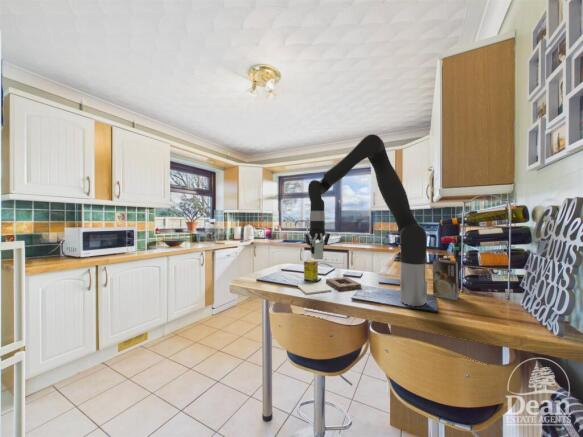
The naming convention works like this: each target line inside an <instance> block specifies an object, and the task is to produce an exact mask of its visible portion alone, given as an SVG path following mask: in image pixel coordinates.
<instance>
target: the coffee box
mask: <svg viewBox="0 0 583 437" xmlns="http://www.w3.org/2000/svg"><path fill="white" fill-rule="evenodd" d="M432 297H438V298H441V299H442V298H443V299H447V300H451V301H452V300H453V301H457V300H458V299H459V261H454V260H445V259H434V260H433V261H432Z"/></svg>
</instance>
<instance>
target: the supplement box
mask: <svg viewBox="0 0 583 437" xmlns="http://www.w3.org/2000/svg"><path fill="white" fill-rule="evenodd" d="M318 262H319V261H318V260H315V259H314V260H313V259H308V260H305V261H303V280H304V281H306V280H308V281H307V282H311V281H313V282H315V281H318V280H319V277H318V276H319V275H318V274H319V273H318V271H319V266H318V265H319V264H318ZM317 279H318V280H317ZM314 280H315V281H314Z"/></svg>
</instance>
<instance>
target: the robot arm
mask: <svg viewBox="0 0 583 437" xmlns="http://www.w3.org/2000/svg"><path fill="white" fill-rule="evenodd" d="M365 159H368V161H369V163H370V164H371V166H372V168H373V171H374V174H375V178H376V183H377V186H378V189H379V192H380V194H381V196H382V198H383V201H384V202H385V205H386V206H387V208H388V209H389V211H390V213H391V214H392V216H393V219H394V221H395V223H396V225H397V229H398V233H399V237H400V263H399V264H400V266H399V267H400V270H399V271H400V284H399V286H400V303H402V302H403V303H404V304H403V303H402V304H403V305H405V304H408V305H407V306H409V305H415V306H421V305H424V304H425V303H427V304H428V282H427V280H426V257H427V233H426V231H425V229H424V228H423V226H422V227H421V226H420V225H419V223H418V222H417V220H416V217H415V216H414V214H413V212H412V209H411V206H410V203H409V198H408V195H407V192H406V189H405V187H404V185H403V183H402V180H401V179H400V177H399V175H398V173H397V172H396V169H395V168H394V167H393V165H392V163H391V161H390V159H389V157H388V153H387V150H386V146H385V143H384V141H383V139H382V138H381V137H379V136H378V135H377V134H368V135H366V136H364V137H363V138H362V139H361V140H360V142H358V143H357V145H356V146H355V147H354V148H352V149H351V151H350V152H348V153H347V154H346V156H344V157H343V158H342V159H341V160H340V161H338V162H337V163H336V164H334V165H333V166H332V167H331V168H329V169H328V170H327V171H326V172H325V173H324V174H323V177H322V178H321V179H320V180H318V179H313V180H311V181H310V182H309V184H308V188H307V192H308V198H309V202H310V212H309V232H308V233H304V234H303V235H304V239H305V243H306V244H307V245H308V246H310V254H311V253H312V254H314V243H315V242H317V240H318V242H321V243H323V253H324V247H325V245H326V246H327V245H328V244H329V239H330V236H331V234H330V233H328V232H326V229H325V226H326V221H325V220H326V216H325V215H326V214H325V201H324V199H322V195H323V194H325V193H327V192H328V191H329V190H330V189H331V188H332V186H333V185H335V184H336V183H338V182H339V181H340V180H342V179H343V178H344V177H345V176H347V174H348V173H349V172H350V171H351V170H352V169H353V168H354V167H355V166H356V165H358V164H359V163H361V162H362V161H364V160H365ZM310 237H311V238H310ZM310 239H311V240H310ZM425 305H426V304H425ZM425 305H424V306H425Z"/></svg>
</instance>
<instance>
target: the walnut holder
mask: <svg viewBox="0 0 583 437" xmlns="http://www.w3.org/2000/svg"><path fill="white" fill-rule="evenodd" d="M325 283H326V284H328V285H329V286H331V287H332V288H334V289H335V290H337V291H339V292H341V291H343V292H344V291H348V290H357V289H358V290H359V289H362V283H360V282H357V281H355V280H353V279H351V278H350V277H348V276H342V277H333V278H325Z"/></svg>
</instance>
